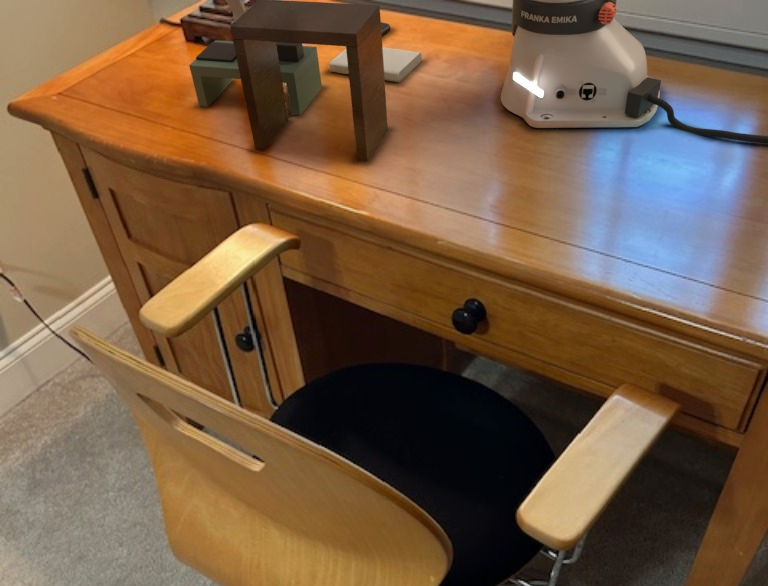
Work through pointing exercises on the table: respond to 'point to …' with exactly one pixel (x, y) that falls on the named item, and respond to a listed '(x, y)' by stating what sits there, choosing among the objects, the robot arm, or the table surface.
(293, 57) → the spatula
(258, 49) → the high shelf
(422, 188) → the table surface
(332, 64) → the hard drive
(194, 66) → the low shelf
